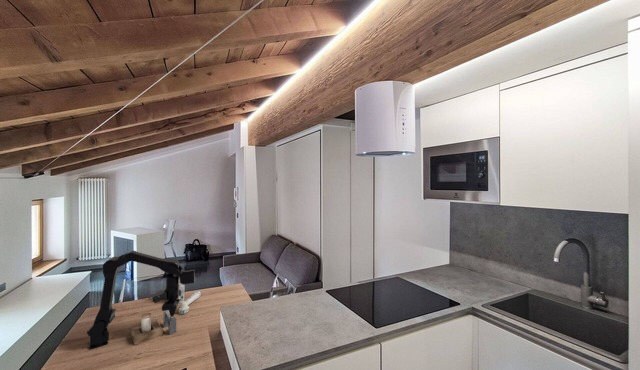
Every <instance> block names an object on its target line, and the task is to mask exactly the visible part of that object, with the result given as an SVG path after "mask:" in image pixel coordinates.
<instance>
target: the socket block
mask: <svg viewBox="0 0 640 370" xmlns="http://www.w3.org/2000/svg"><path fill="white" fill-rule="evenodd" d="M129 335H130V338H131V340H132V342H133V345H134V346H135V345H138V344H142V343H145V342H147V341H150V340H153V339H154V340H155V339H156V338H159V337H162V336H163V328H162V327H161V325H160V324H159V321H157V320H154V321H151V330H150V331H147V332H144V333H141V324H139V325H137V326H133V327H131V328H129ZM141 342H142V343H141Z"/></svg>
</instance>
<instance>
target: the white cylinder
mask: <svg viewBox="0 0 640 370" xmlns="http://www.w3.org/2000/svg"><path fill="white" fill-rule="evenodd" d="M140 318H141V324H140V325H141V333H144V332H147V331H150V330H151V322H152V313H151V312H145V313H143V314H141V317H140Z"/></svg>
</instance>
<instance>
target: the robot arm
mask: <svg viewBox="0 0 640 370" xmlns="http://www.w3.org/2000/svg"><path fill="white" fill-rule="evenodd" d="M130 262H136V263H139V264H143V265H146V266H151V267H154V268H157V269H160V270H161V271H162V272H164V273H163V274H162V276H161V279H165V289H164V290H160V291H159V292H157V293H154V294H153V295H152V301H151V302H152V303H153V304H158V303H159V302H161V301H163V303H162V306H161V311H162V312H166V311H167V310H169V312H170V316H171V318H173V316H174V315H175V314H176V310H177V308H178V306H179V304H180V303H179V300H180V299H178V297H179V296H181V290H180V289H179V277H180V283H181V284H182V285H185V286H186V285H194V284H195V283H196V282H195V281H196V274H195V269H190V270H185V269H184V268H183V267H182V265H180V264H181V263H180V261H179V260H178V259H176V258H168V257H167V258H162V257H157V256H153V255H150V254H146V253H143V252H138V251H137V250H131V251H129V252H126V253H124V254H121V255H119V256H111V257H110V258H108V259H107V260H105V262H103V265H102V274H103V278H104V282H103V287H102V294H101V301H100V305H99V310H98V312H97V314H96V316H95V319H94V321H93V325H92V326H91V327H90V328H88V330H87V331H86V335H87V336H88V337H89V342H88V345H89V350H93V349H96V348H99V347H103V346H106V345H108V344H109V341H110V331H109V330H108V326H109V325H110V324H111V323H112V321H113V320H114V319H115V318H116V310H117V308H113V301H114V300H113V299H114V294H115V289H116V281H117V276H118V274H119V272H120V270H121V268H122V266H124V265H126V264H128V263H130ZM178 303H179V304H178ZM174 317H175V316H174Z"/></svg>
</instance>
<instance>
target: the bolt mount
mask: <svg viewBox="0 0 640 370" xmlns="http://www.w3.org/2000/svg"><path fill="white" fill-rule="evenodd" d="M162 315H163V316H162V317H163V318H162V321H163V323H162V325H163V328H167V329H168V330H167V333H168V335H169V336H171V335H173V334H177V318H176V317H175V316H174V317H171V318H169V317H168V316H167V314H166V311H163V313H162Z"/></svg>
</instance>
